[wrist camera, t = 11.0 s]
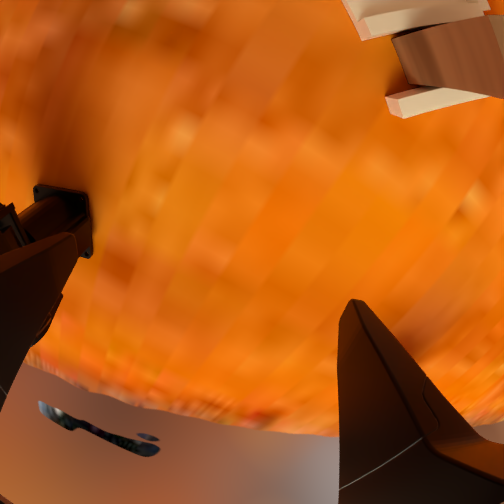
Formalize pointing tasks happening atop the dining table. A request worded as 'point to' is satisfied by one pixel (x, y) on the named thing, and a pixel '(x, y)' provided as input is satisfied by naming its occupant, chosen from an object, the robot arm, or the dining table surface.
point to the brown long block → (456, 55)
